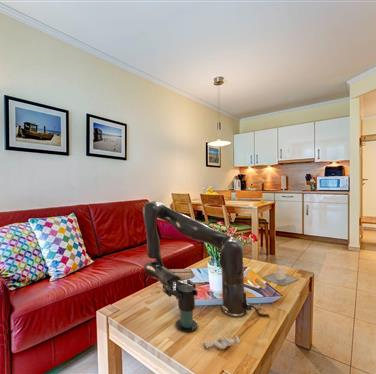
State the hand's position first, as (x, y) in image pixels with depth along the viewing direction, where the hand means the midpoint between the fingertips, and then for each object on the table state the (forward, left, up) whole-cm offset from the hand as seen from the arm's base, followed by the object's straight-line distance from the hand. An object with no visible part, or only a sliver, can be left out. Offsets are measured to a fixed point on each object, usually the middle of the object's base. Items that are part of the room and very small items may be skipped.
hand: (188, 295), depth 95 cm
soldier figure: (-8, +12, -14) cm, 20 cm away
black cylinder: (+1, -2, -6) cm, 6 cm away
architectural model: (-66, -39, -14) cm, 78 cm away
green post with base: (+1, -2, -14) cm, 14 cm away
